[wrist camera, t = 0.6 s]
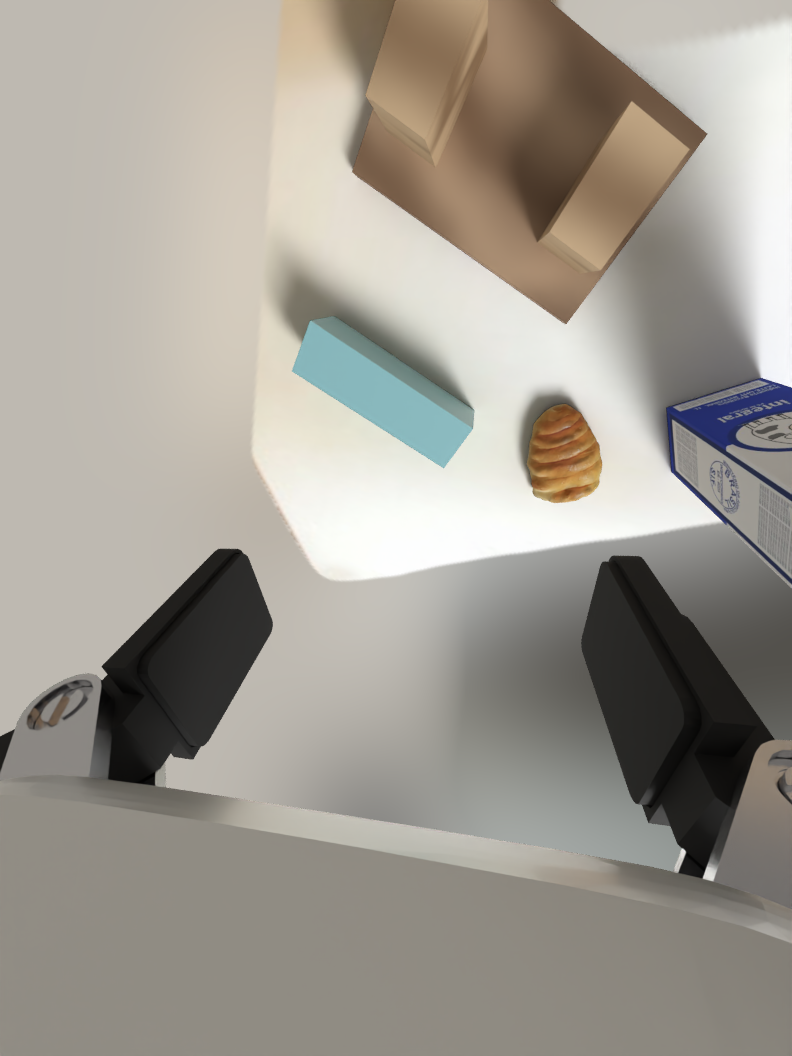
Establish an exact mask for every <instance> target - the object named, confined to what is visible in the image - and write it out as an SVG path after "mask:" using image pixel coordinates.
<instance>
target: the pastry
mask: <svg viewBox="0 0 792 1056" xmlns="http://www.w3.org/2000/svg"><path fill="white" fill-rule="evenodd" d="M527 466H528V468H529V470H530V476H531V480H532V487H533V494H534V496H535V497H537V498H541V499H542V500H545V501H550V502H553V503H563V502H570V501H576V500H579V499H580V498H582V497H586V496H588V495H589V494H591V493H592V492H594V490H595V489H596V488H597V487H598V485H599V477H600V474H601V470H602V460H601V456H600V448H599V444H598V442H597V441H596V438H595V436H594V435H593V433H592V431H591V429H590V428H589V426H588V425H587V422H586V421H585V419H584V418H583V416H582V414H581V413H580V412H578V411H576V410H575V409H574V408H572V407H571V406H569V405H567V404H560V405H556V406H553V407H551V408H549V409H548V410H547V411H545V412H544V413H543V414H542V415H541V416H540V417H539V418H538V419H537V420H536V421H535V423H534V425H533V432H532V437H531V440H530V442H529V456H528V459H527Z"/></svg>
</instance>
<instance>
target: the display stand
mask: <svg viewBox="0 0 792 1056" xmlns="http://www.w3.org/2000/svg"><path fill="white" fill-rule="evenodd" d="M365 96H366V97H367V99H368V101H369V102H370V104H371V106H372V107H373V110H372V113H371V116H370V119H369V122H368V125H367V128H366V131H365V134H364V137H363V140H362V143H361V146H360V149H359V152H358V155H357V158H356V161H355V164H354V167H353V171H352V172H353V173H354V174H355V175H356V176H357V177H358V178H360V179H361V180H363V181H364V182H365V183H367V184H368V185H370V186H371V187H373V188H374V189H375V190H377V191H378V192H380V193H381V194H382V195H384V196H385V197H387V198H388V199H389V200H391V201H392V202H394V203H395V204H396V205H398V206H399V207H401V208H402V209H404V210H405V211H406V212H408V213H409V214H411V215H412V216H413V217H415V218H416V219H418V220H419V221H420V222H422V223H423V224H425V225H426V226H427V227H429V228H430V229H432V230H433V231H435V232H436V233H437V234H439V235H440V236H442V237H443V238H444V239H446V240H447V241H449V242H450V243H451V244H453V245H454V246H456V247H457V248H458V249H460V250H461V251H463V252H464V253H466V254H467V255H468V256H470V257H471V258H473V259H474V260H475V261H477V262H478V263H480V264H481V265H482V266H484V267H485V268H487V269H488V270H489V271H491V272H492V273H494V274H495V275H497V276H498V277H499V278H501V279H502V280H504V281H505V282H506V283H508V284H509V285H511V286H512V287H513V288H515V289H516V290H518V291H519V292H520V293H522V294H523V295H525V296H526V297H528V298H529V299H530V300H532V301H533V302H535V303H536V304H537V305H539V306H540V307H542V308H543V309H544V310H546V311H547V312H549V313H550V314H551V315H553V316H554V317H556V318H557V319H559V320H560V321H561V322H563V323H565V324H567V322H568V321H569V320H570V318H571V317H572V316H573V314H574V313H575V312H576V310H577V309H578V308H579V306H580V305H581V304H582V302H583V301H584V299H585V298H586V297H587V295H588V294H589V293H590V291H591V290H592V289H593V287H594V286H595V285H596V283H597V282H598V281H599V279H600V278H601V277H602V275H603V274H604V273H605V271H606V270H607V269H608V267H609V266H610V264H611V263H612V262H613V260H614V259H615V258H616V256H617V255H618V254H619V252H620V251H621V250H622V248H623V247H624V246H625V244H626V243H627V242H628V240H629V239H630V238H631V236H632V235H633V234H634V232H635V231H636V229H637V228H638V227H639V225H640V224H641V223H642V221H643V220H644V219H645V217H646V216H647V215H648V213H649V212H650V211H651V209H652V208H653V207H654V205H655V204H656V203H657V201H658V200H659V199H660V197H661V196H662V194H663V193H664V192H665V190H666V189H667V188H668V186H669V185H670V184H671V182H672V181H673V180H674V178H675V177H676V176H677V174H678V173H679V172H680V170H681V169H682V168H683V166H684V165H685V164H686V162H687V161H688V159H689V158H690V157H691V155H692V154H693V153H694V151H695V150H696V149H697V147H698V146H699V145H700V143H701V142H702V141H703V139H704V138H705V137H706V135H707V133H706V132H704V131H703V130H702V129H701V128H700V127H699V126H697V125H696V124H695V123H694V122H693V121H691V120H690V119H689V118H688V117H687V116H685V115H684V114H683V113H682V112H681V111H680V110H678V109H677V108H676V107H675V106H674V105H672V104H671V103H670V102H669V101H668V100H667V99H665V98H664V97H663V96H662V95H661V94H659V93H658V92H657V91H656V90H655V89H653V88H652V87H651V86H650V85H649V84H648V83H646V82H645V81H644V80H643V79H642V78H640V77H639V76H638V75H637V74H636V73H634V72H633V71H632V70H631V69H630V68H629V67H627V66H626V65H625V64H624V63H623V62H621V61H620V60H619V59H618V58H617V57H616V56H614V55H613V54H612V53H611V52H610V51H608V50H607V49H606V48H605V47H604V46H602V45H601V44H600V43H599V42H598V41H597V40H595V39H594V38H593V37H592V36H591V35H589V34H588V33H587V32H586V31H585V30H583V29H582V28H581V27H580V26H579V25H578V24H576V23H575V22H574V21H573V20H571V19H570V18H569V17H568V16H567V15H566V14H564V13H563V12H562V11H561V10H560V9H559V8H557V7H556V6H555V5H554V4H553V3H551V2H550V1H549V0H395V3H394V6H393V9H392V12H391V16H390V19H389V22H388V25H387V28H386V31H385V35H384V38H383V41H382V44H381V47H380V50H379V54H378V57H377V60H376V63H375V66H374V69H373V73H372V76H371V79H370V82H369V85H368V88H367V92H366V95H365Z"/></svg>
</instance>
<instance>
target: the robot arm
mask: <svg viewBox="0 0 792 1056" xmlns="http://www.w3.org/2000/svg"><path fill="white" fill-rule="evenodd" d="M272 627H273V622H272V618H271V616H270V614H269V611H268V608H267V605H266V603H265V600H264V597H263V595H262V592H261V590H260V587H259V584H258V582H257V579H256V577H255V574H254V571H253V569H252V566H251V563H250V561H249V559H248V556H246V555H245V554H243V553H242V551H241V550H239V549H218V550H216V551H215V552H214V553H213V554H212V555H211V556H210V557H209V558H208V559H207V560H206V561H205V562H204V563H203V564H202V565H201V566H200V567H199V568H198V569H197V570H196V571H195V572H194V573H193V574H192V575H191V576H190V577H189V578H188V579H187V580H186V581H185V582H184V583H183V584H182V585H181V587H179V588H178V589H177V590H176V591H175V592H174V594H172V595H171V596H170V597H169V599H168V600H167V601H166V602H165V603H164V604H163V605H162V606H161V607H160V608H159V609H158V610H157V611H156V612H155V613H154V614H153V615H152V616H151V617H150V618H149V619H148V620H147V621H146V622H145V623H144V624H143V625H142V626H141V627H140V628H139V629H138V630H137V631H136V632H135V633H134V634H133V635H132V636H131V637H130V638H129V639H128V640H127V641H126V642H125V643H124V644H123V645H122V646H121V647H120V648H119V649H118V651H116V652H115V653H114V654H113V655H112V656H111V657H110V658H109V659H108V661H106V662H105V664H104V665H103V666H102V668H103V669H104V670H105V672H106V673H107V674H108V675H107V676H106V677H105V678H104V679H103V680H101V679H100V678H99V677H98V676H97V675H93V674H80V675H76V676H73V677H70V678H67V679H65V680H63V681H61V682H59V683H57V684H55V685H53V686H52V687H50V688H49V689H47V690H46V691H44V692H43V693H42V694H40V695H39V696H38V697H37V698H36V699H35V700H33V701H32V702H31V703H30V704H29V706H28V707H27V708H26V709H25V710H24V712H23V713H22V715H21V717H20V718H19V720H18V722H17V726H16V728H15V729H14V730H12V731H10V732H8V733H6V734H4V735H2V736H0V1056H792V741H790V740H775V739H774V738H773V736H772V735H771V734H770V732H769V731H768V729H767V728H766V727H765V725H764V724H763V722H762V721H761V719H760V718H759V717H758V715H757V714H756V712H755V711H754V709H753V708H752V707H751V705H750V704H749V702H748V701H747V699H746V698H745V697H744V695H743V694H742V692H741V691H740V689H739V688H738V687H737V685H736V684H735V682H734V681H733V680H732V678H731V677H730V675H729V674H728V672H727V671H726V670H725V668H724V667H723V665H722V664H721V662H720V661H719V660H718V658H717V657H716V655H715V654H714V653H713V651H712V650H711V648H710V647H709V645H708V644H707V643H706V641H705V640H704V638H703V637H702V636H701V634H700V633H699V631H698V630H697V628H696V627H695V625H694V624H693V623H692V622H691V621H690V620H689V618H688V617H686V616H684V615H682V614H681V613H680V612H679V611H678V609H677V608H676V606H675V605H674V603H673V602H672V600H671V599H670V598H669V596H668V594H667V593H666V592H665V590H664V589H663V587H662V586H661V584H660V583H659V581H658V580H657V579H656V577H655V576H654V574H653V573H652V571H651V570H650V568H649V567H648V565H647V564H646V562H645V561H644V560H643V559H642V557H639V556H612V557H611V558H610V559H609V562H602V564H601V566H600V569H599V574H598V577H597V581H596V585H595V589H594V593H593V597H592V600H591V604H590V609H589V612H588V616H587V620H586V624H585V628H584V632H583V635H582V642H581V644H582V652H583V655H584V658H585V661H586V664H587V667H588V670H589V673H590V676H591V679H592V682H593V685H594V688H595V691H596V694H597V697H598V700H599V703H600V706H601V709H602V712H603V715H604V718H605V721H606V724H607V727H608V730H609V733H610V736H611V739H612V742H613V745H614V748H615V751H616V754H617V757H618V760H619V763H620V766H621V769H622V772H623V775H624V778H625V781H626V784H627V787H628V790H629V793H630V795H631V797H632V799H633V801H634V802H635V803H636V804H642V806H643V809H644V812H645V815H646V817H647V820H648V823H652V824H660V825H667V826H671V828H672V831H673V834H674V836H675V839H676V841H677V844H678V845H679V846H680V847H681V848H682V850H681V852H680V855H679V857H678V860H677V863H676V865H675V867H674V870H673V872H671V871H667V870H663V869H658V868H654V867H649V866H644V865H638V864H633V863H627V862H621V861H616V860H611V859H605V858H600V857H594V856H589V855H583V854H578V853H572V852H567V851H561V850H556V849H550V848H544V847H538V846H532V845H526V844H520V843H513V842H508V841H501V840H495V839H489V838H483V837H476V836H471V835H464V834H458V833H452V832H445V831H440V830H434V829H428V828H421V827H415V826H409V825H403V824H396V823H390V822H383V821H378V820H371V819H364V818H359V817H352V816H346V815H340V814H333V813H327V812H320V811H314V810H308V809H302V808H295V807H289V806H283V805H276V804H269V803H263V802H257V801H250V800H243V799H237V798H230V797H224V796H217V795H211V794H204V793H198V792H191V791H185V790H178V789H171V788H166V776H165V761H166V759H167V758H168V756H169V755H170V753H171V754H172V755H173V756H174V757H179V758H185V759H194V757H195V755H196V754H197V752H198V750H199V749H200V747H201V746H204V745H205V744H206V743H207V742H208V741H209V739H210V738H211V736H212V734H213V732H214V730H215V729H216V727H217V725H218V724H219V722H220V720H221V719H222V717H223V715H224V713H225V712H226V710H227V708H228V706H229V705H230V703H231V701H232V699H233V698H234V696H235V694H236V693H237V691H238V689H239V687H240V686H241V684H242V682H243V680H244V679H245V677H246V675H247V673H248V672H249V670H250V668H251V667H252V665H253V663H254V661H255V660H256V658H257V656H258V654H259V653H260V651H261V649H262V648H263V646H264V644H265V642H266V641H267V639H268V637H269V635H270V634H271V631H272Z"/></svg>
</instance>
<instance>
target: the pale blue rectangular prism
mask: <svg viewBox="0 0 792 1056" xmlns="http://www.w3.org/2000/svg"><path fill="white" fill-rule="evenodd" d="M292 372H294V373H295V374H297V375H299V376H300V377H302V378H303V379H305V380H306V381H308V382H310V383H311V384H313V385H314V386H316V387H317V388H319V389H320V390H322V391H324V392H325V393H327V394H328V395H330V396H331V397H333V398H335V399H336V400H338V401H339V402H341V403H342V404H344V405H346V406H347V407H349V408H350V409H352V410H353V411H355V412H356V413H358V414H360V415H361V416H363V417H364V418H366V419H367V420H369V421H371V422H372V423H374V424H375V425H377V426H378V427H380V428H382V429H383V430H385V431H386V432H388V433H389V434H391V435H392V436H394V437H396V438H397V439H399V440H400V441H402V442H403V443H405V444H407V445H408V446H410V447H411V448H413V449H414V450H416V451H418V452H419V453H421V454H422V455H424V456H425V457H427V458H428V459H430V460H432V461H433V462H435V463H436V464H438V465H439V466H441V467H443V468H444V467H445V466H446V464H447V463H448V462H449V460H450V459H451V458H452V456H453V455H454V454H455V452H456V451H457V450H458V448H459V447H460V446H461V444H462V443H463V441H464V440H465V439H466V437H467V436H468V435H469V433H470V432H471V431H472V429H473V421H474V410H473V409H472V408H470V407H469V406H467V405H466V404H464V403H463V402H461V401H460V400H458V399H457V398H455V397H454V396H452V395H451V394H449V393H448V392H446V391H445V390H443V389H442V388H440V387H439V386H437V385H436V384H434V383H433V382H432V381H430V380H429V379H427V378H426V377H424V376H423V375H421V374H420V373H418V372H417V371H415V370H414V369H412V368H411V367H409V366H408V365H406V364H405V363H403V362H402V361H400V360H399V359H397V358H396V357H394V356H393V355H391V354H390V353H388V352H387V351H385V350H384V349H383V348H381V347H380V346H378V345H377V344H375V343H374V342H372V341H371V340H369V339H368V338H366V337H365V336H363V335H362V334H360V333H359V332H357V331H356V330H354V329H353V328H351V327H350V326H348V325H347V324H345V323H344V322H342V321H341V320H339V319H338V318H337V317H335V316H332V317H326V318H321V319H315V320H310V322H309V325H308V328H307V331H306V333H305V336H304V339H303V342H302V345H301V347H300V350H299V353H298V356H297V359H296V361H295V364H294V367H293V370H292Z"/></svg>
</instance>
